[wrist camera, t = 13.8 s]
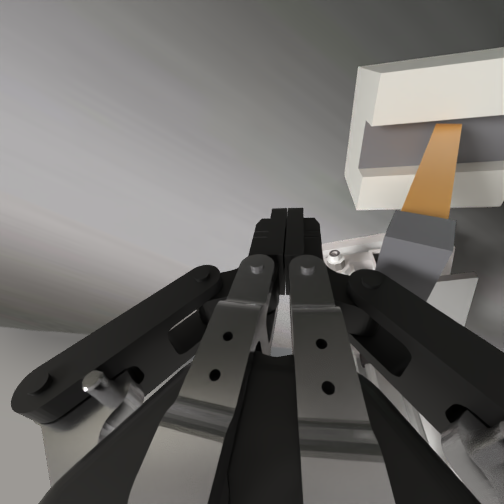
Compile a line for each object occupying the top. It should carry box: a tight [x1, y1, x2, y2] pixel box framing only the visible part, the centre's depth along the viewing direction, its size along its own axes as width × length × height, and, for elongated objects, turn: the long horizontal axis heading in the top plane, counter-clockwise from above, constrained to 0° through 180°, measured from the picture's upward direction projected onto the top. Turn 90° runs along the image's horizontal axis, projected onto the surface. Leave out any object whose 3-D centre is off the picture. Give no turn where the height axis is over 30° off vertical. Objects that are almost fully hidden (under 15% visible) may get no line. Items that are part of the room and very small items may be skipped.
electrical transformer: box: [322, 233, 479, 481], centre depth 26 cm, size 16×19×25 cm
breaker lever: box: [375, 124, 462, 301], centre depth 13 cm, size 4×2×16 cm, turn 7°
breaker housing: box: [344, 47, 504, 210], centre depth 20 cm, size 10×11×8 cm
